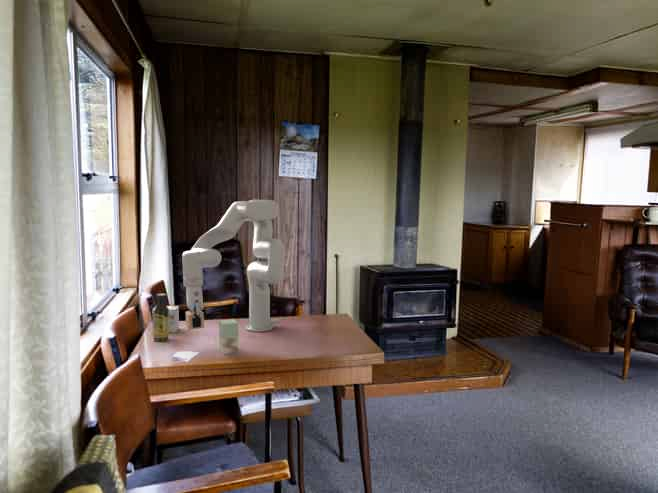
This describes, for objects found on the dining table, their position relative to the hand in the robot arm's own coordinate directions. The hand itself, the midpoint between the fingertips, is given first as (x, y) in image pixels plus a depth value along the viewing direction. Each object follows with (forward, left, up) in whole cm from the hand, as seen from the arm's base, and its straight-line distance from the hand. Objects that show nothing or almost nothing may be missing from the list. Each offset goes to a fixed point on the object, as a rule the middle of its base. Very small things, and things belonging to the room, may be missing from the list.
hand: (195, 324), depth 200 cm
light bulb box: (+7, -31, -10) cm, 33 cm away
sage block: (-11, +9, -4) cm, 15 cm away
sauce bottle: (+11, -17, -10) cm, 22 cm away
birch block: (-11, +9, -10) cm, 18 cm away
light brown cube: (0, 0, -1) cm, 1 cm away
